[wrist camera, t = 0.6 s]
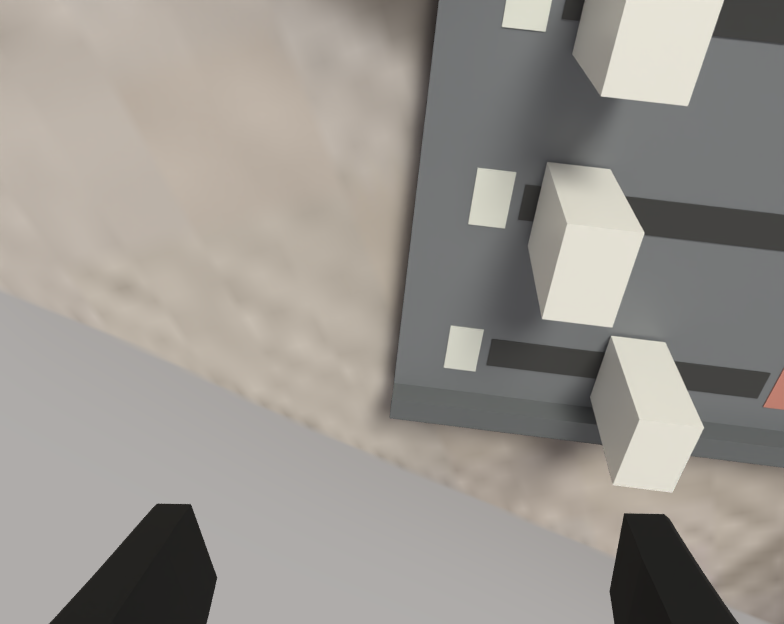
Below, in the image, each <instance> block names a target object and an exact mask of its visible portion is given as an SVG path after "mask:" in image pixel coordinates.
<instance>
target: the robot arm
mask: <svg viewBox="0 0 784 624" xmlns="http://www.w3.org/2000/svg"><path fill="white" fill-rule="evenodd" d="M216 580H217V576H216V573H215V570H214V568H213V565H212V562H211V560H210V557H209V554H208V551H207V548H206V546H205V542H204V540H203V537H202V534H201V531H200V528H199V526H198V523H197V520H196V517H195V514H194V512H193V509H192V506H191V504H156V505H155V506H154V507H153V508H152V509H151V511H150V512H149V513H148V514H147V515H146V516H145V517H144V518H143V520H142V521H141V522H140V523H139V524H138V525H137V527H136V528H135V529H134V530H133V531H132V532H131V533H130V534H129V536H128V537H127V538H126V539H125V540H124V541H123V542H122V544H121V545H120V546H119V547H118V548H117V549H116V550H115V552H114V553H113V554H112V555H111V556H110V557H109V558H108V559H107V561H106V562H105V563H104V564H103V565H102V566H101V567H100V569H99V570H98V571H97V572H96V573H95V574H94V575H93V576H92V578H91V579H90V580H89V581H88V582H87V583H86V584H85V585H84V586H83V587H82V589H81V590H80V591H79V592H78V593H77V594H76V595H75V596H74V597H73V598H72V599H71V601H70V602H69V603H68V604H67V605H66V606H65V607H64V608H63V609H62V610H61V611H60V613H59V614H58V615H57V616H56V617H55V618H54V619H53V620H52V621H51V622H50V624H206V623H207V619H208V615H209V611H210V607H211V602H212V597H213V594H214V589H215V584H216ZM610 596H611V602H612V610H613V617H614V624H738V622H737V621H736V619H735V618H734V617H733V615H732V614H731V613H730V611H729V610H728V608H727V607H726V605H725V604H724V602H723V601H722V599H721V598H720V597H719V595H718V594H717V592H716V591H715V589H714V588H713V586H712V585H711V583H710V582H709V580H708V579H707V577H706V576H705V574H704V573H703V571H702V570H701V568H700V567H699V565H698V564H697V562H696V561H695V559H694V557H693V556H692V554H691V553H690V551H689V550H688V548H687V546H686V545H685V543H684V542H683V540H682V538H681V537H680V535H679V534H678V532H677V530H676V529H675V527H674V525H673V524H672V522H671V520H670V519H669V518H668V517H667V516H665V515H664V514H627V513H624V517H623V523H622V528H621V533H620V539H619V544H618V549H617V555H616V560H615V566H614V571H613V576H612V581H611V587H610Z"/></svg>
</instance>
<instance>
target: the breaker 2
mask: <svg viewBox="0 0 784 624" xmlns="http://www.w3.org/2000/svg"><path fill="white" fill-rule="evenodd" d="M723 2H724V0H585V1H584V5H583V10H582V14H581V18H580V23H579V27H578V31H577V36H576V40H575V44H574V49H573V53H572V55H573V56H574V57H575V59H576V60H577V62H578V63H579V65H580V66H581V68H582V69H583V71H584V72H585V74H586V75H587V77H588V78H589V80H590V81H591V83H592V84H593V85H594V87H595V88H596V90H597V91H598V93H599V94H600V96H602V97H611V98H620V99H629V100H637V101H646V102H655V103H664V104H673V105H681V106H688V104H689V101H690V99H691V96H692V93H693V90H694V87H695V84H696V81H697V78H698V75H699V72H700V69H701V66H702V63H703V60H704V57H705V55H706V52H707V49H708V46H709V43H710V40H711V37H712V34H713V31H714V28H715V25H716V22H717V19H718V16H719V14H720V11H721V8H722V5H723Z"/></svg>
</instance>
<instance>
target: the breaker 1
mask: <svg viewBox="0 0 784 624" xmlns="http://www.w3.org/2000/svg"><path fill="white" fill-rule="evenodd" d="M643 236H644V231H643V229H642V227H641V225H640V223H639V221H638V220H637V218H636V216H635V214H634V212H633V210H632V208H631V207H630V205H629V203H628V201H627V199H626V197H625V195H624V194H623V192H622V190H621V188H620V186H619V184H618V182H617V181H616V179H615V177H614V175H613V173H612V171H611V169H604V168H596V167H587V166H578V165H570V164H561V163H553V162H547V165H546V169H545V174H544V178H543V182H542V187H541V191H540V195H539V199H538V204H537V208H536V212H535V217H534V221H533V225H532V230H531V234H530V238H529V243H528V250H529V255H530V260H531V265H532V270H533V275H534V281H535V286H536V291H537V296H538V301H539V306H540V312H541V317H542V319H546V320H554V321H562V322H570V323H578V324H587V325H595V326H603V327H611V328H612V327H613V324H614V321H615V318H616V315H617V312H618V309H619V307H620V304H621V301H622V298H623V295H624V292H625V289H626V286H627V283H628V280H629V277H630V274H631V271H632V268H633V266H634V263H635V260H636V257H637V254H638V251H639V248H640V245H641V242H642V239H643Z"/></svg>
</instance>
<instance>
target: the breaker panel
mask: <svg viewBox="0 0 784 624" xmlns="http://www.w3.org/2000/svg"><path fill="white" fill-rule="evenodd" d="M584 1H585V0H439V4H438V13H437V21H436V30H435V38H434V47H433V55H432V64H431V72H430V81H429V89H428V98H427V106H426V115H425V123H424V132H423V140H422V149H421V157H420V166H419V174H418V183H417V191H416V200H415V208H414V217H413V225H412V234H411V242H410V251H409V259H408V268H407V276H406V285H405V293H404V302H403V310H402V319H401V327H400V336H399V344H398V353H397V361H396V370H395V378H394V386H393V394H392V402H391V411H390V418H393V419H401V420H409V421H417V422H425V423H433V424H441V425H449V426H457V427H464V428H472V429H480V430H488V431H496V432H504V433H512V434H520V435H528V436H536V437H544V438H552V439H560V440H568V441H576V442H584V443H592V444H600V445H602V442H601V438H600V434H599V430H598V426H597V422H596V418H595V414H594V411H593V407H592V403H591V399H590V396H591V393H592V390H593V387H594V384H595V381H596V378H597V375H598V372H599V369H600V367H601V364H602V361H603V358H604V355H605V352H606V349H607V346H608V343H609V340H610V337H611V336H617V337H626V338H634V339H642V340H650V341H659V342H665V343H666V345H667V347H668V349H669V351H670V354H671V356H672V358H673V360H674V362H675V365H676V367H677V369H678V371H679V373H680V376H681V378H682V380H683V382H684V384H685V387H686V389H687V391H688V393H689V395H690V398H691V400H692V402H693V404H694V406H695V409H696V411H697V413H698V415H699V417H700V420H701V422H702V424H703V426H704V429H703V431H702V433H701V435H700V437H699V439H698V441H697V443H696V445H695V447H694V449H693V451H692V453H691V455H690V456H695V457H703V458H711V459H719V460H727V461H735V462H743V463H751V464H759V465H767V466H775V467H783V468H784V0H724V2H723V5H722V8H721V11H720V14H719V16H718V19H717V22H716V25H715V28H714V31H713V34H712V37H711V40H710V43H709V46H708V49H707V52H706V55H705V57H704V60H703V63H702V66H701V69H700V72H699V75H698V78H697V81H696V84H695V87H694V90H693V93H692V96H691V99H690V101H689V104H688V106H681V105H673V104H664V103H655V102H646V101H637V100H629V99H620V98H611V97H602V96H600V94H599V93H598V91H597V90H596V88H595V87H594V85H593V84H592V83H591V81H590V80H589V78H588V77H587V75H586V74H585V72H584V71H583V69H582V68H581V66H580V65H579V63H578V62H577V60H576V59H575V57H574V56H573V55H572V53H573V49H574V44H575V40H576V36H577V31H578V27H579V23H580V18H581V14H582V10H583V5H584ZM547 162H553V163H561V164H570V165H578V166H587V167H596V168H604V169H611V171H612V173H613V175H614V177H615V179H616V181H617V182H618V184H619V186H620V188H621V190H622V192H623V194H624V195H625V197H626V199H627V201H628V203H629V205H630V207H631V208H632V210H633V212H634V214H635V216H636V218H637V220H638V221H639V223H640V225H641V227H642V229H643V231H644V236H643V239H642V242H641V245H640V248H639V251H638V254H637V257H636V260H635V263H634V266H633V268H632V271H631V274H630V277H629V280H628V283H627V286H626V289H625V292H624V295H623V298H622V301H621V304H620V307H619V309H618V312H617V315H616V318H615V321H614V324H613V327H612V328H611V327H603V326H595V325H587V324H578V323H570V322H562V321H554V320H546V319H542V317H541V312H540V306H539V301H538V296H537V291H536V286H535V281H534V275H533V270H532V265H531V260H530V255H529V250H528V243H529V238H530V234H531V230H532V225H533V221H534V217H535V212H536V208H537V204H538V199H539V195H540V191H541V187H542V182H543V178H544V174H545V169H546V165H547Z"/></svg>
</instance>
